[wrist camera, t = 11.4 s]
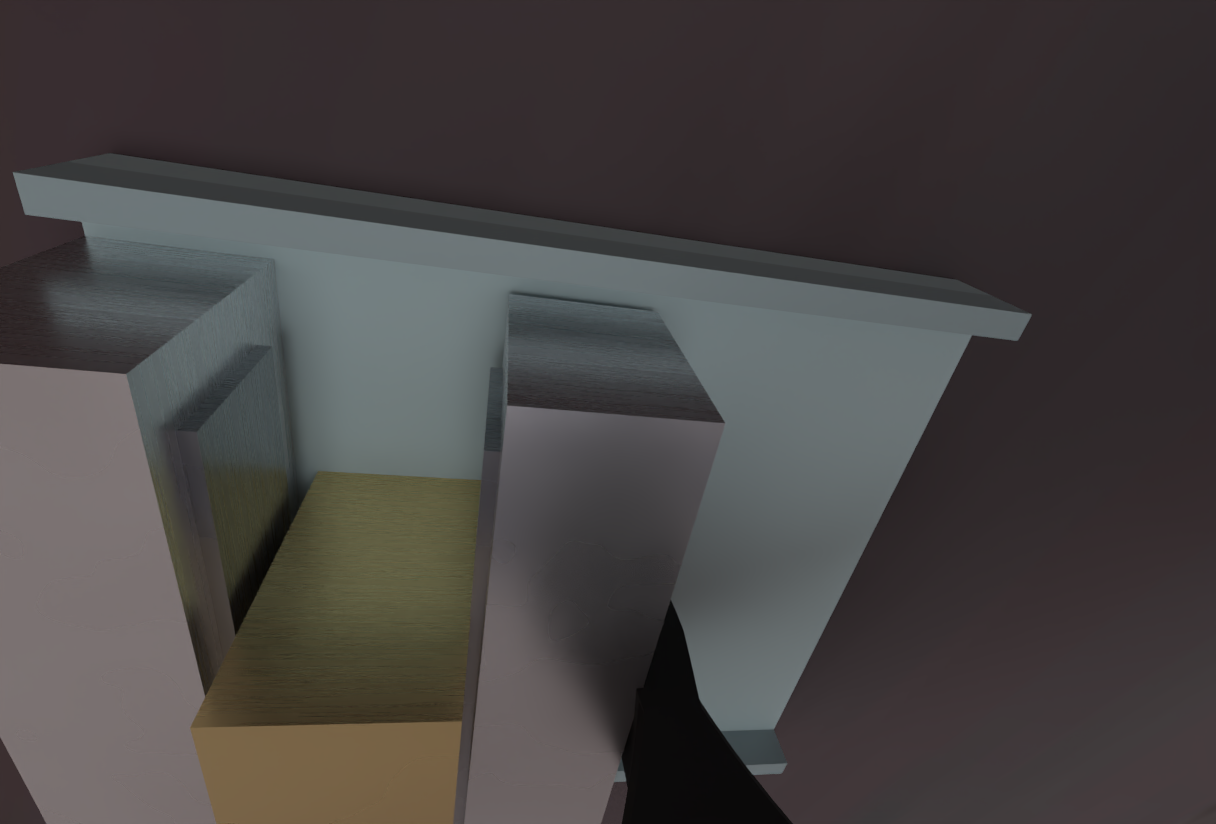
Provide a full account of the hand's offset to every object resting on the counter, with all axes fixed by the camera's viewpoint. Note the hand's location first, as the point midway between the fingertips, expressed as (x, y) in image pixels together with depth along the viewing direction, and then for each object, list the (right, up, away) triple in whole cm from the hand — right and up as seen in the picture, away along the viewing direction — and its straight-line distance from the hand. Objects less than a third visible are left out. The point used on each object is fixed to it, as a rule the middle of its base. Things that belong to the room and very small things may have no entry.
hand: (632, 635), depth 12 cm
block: (-5, +2, +1) cm, 5 cm away
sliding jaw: (-2, +1, +1) cm, 2 cm away
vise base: (-2, +2, +2) cm, 3 cm away
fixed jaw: (-8, +2, 0) cm, 8 cm away
